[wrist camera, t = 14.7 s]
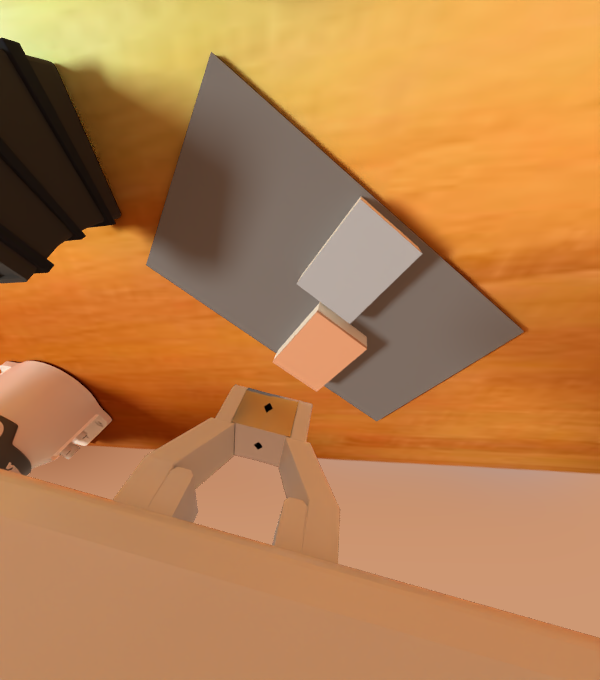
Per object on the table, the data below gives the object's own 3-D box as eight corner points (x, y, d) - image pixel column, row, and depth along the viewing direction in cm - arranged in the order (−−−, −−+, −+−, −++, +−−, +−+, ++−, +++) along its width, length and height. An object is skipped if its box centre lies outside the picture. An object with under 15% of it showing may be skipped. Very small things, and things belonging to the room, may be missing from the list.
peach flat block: (316, 391, 29) (272, 362, 28) (319, 378, 31) (277, 350, 30) (366, 349, 25) (317, 312, 24) (366, 336, 26) (320, 301, 25)
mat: (376, 417, 33) (376, 421, 33) (149, 263, 27) (146, 265, 27) (520, 328, 24) (524, 331, 23) (215, 55, 17) (211, 52, 17)
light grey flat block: (349, 324, 24) (296, 284, 22) (350, 312, 25) (301, 275, 24) (422, 253, 19) (360, 199, 18) (417, 245, 21) (360, 196, 20)
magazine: (1, -22, 16) (-311, 49, 9) (145, 189, 27) (62, 300, 20) (-40, -5, 17) (-356, 74, 10) (116, 193, 28) (26, 302, 21)
